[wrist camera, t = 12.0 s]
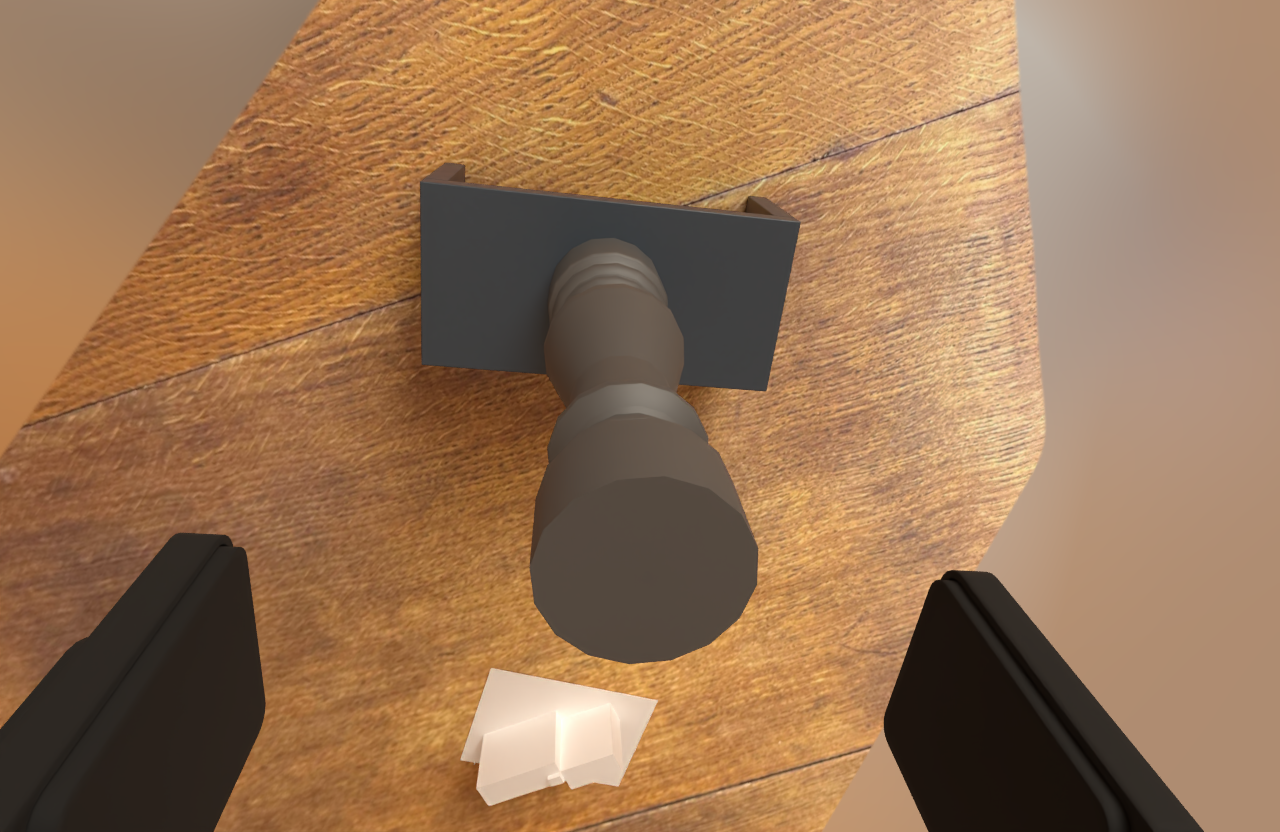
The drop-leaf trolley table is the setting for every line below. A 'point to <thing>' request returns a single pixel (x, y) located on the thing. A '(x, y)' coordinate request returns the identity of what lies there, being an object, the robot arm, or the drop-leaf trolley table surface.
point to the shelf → (557, 222)
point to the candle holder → (631, 475)
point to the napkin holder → (551, 735)
